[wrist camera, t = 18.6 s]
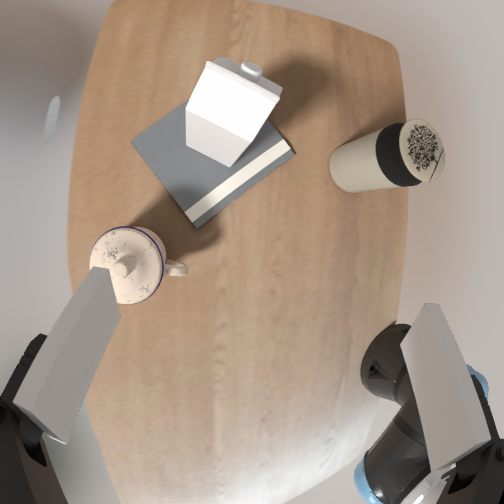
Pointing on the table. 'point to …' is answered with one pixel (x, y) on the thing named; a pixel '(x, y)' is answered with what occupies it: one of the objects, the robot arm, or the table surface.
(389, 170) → the travel mug
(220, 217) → the table surface
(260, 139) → the mat
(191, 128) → the milk carton
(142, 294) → the teacup with lid
